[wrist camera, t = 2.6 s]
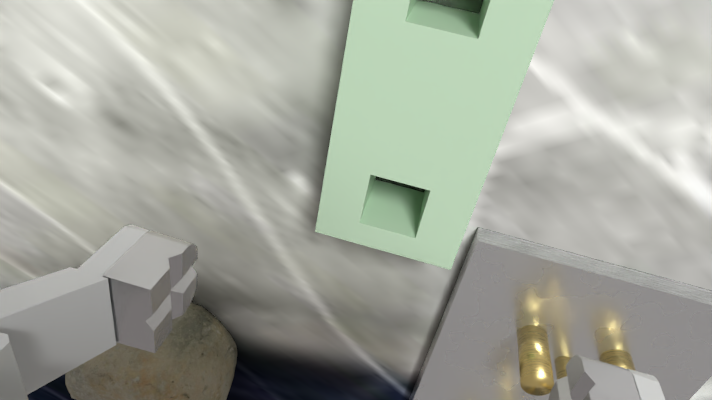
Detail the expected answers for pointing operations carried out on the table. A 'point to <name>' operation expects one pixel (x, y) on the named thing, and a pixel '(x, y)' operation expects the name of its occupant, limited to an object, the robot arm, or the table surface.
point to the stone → (163, 365)
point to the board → (422, 120)
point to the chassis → (561, 324)
